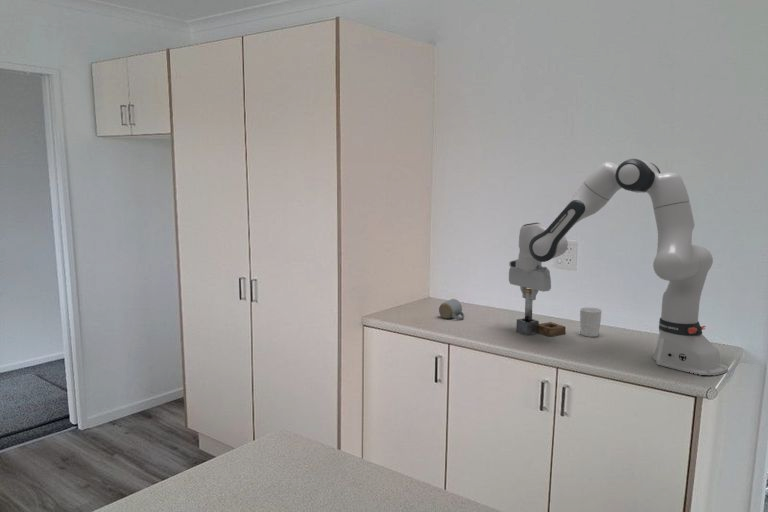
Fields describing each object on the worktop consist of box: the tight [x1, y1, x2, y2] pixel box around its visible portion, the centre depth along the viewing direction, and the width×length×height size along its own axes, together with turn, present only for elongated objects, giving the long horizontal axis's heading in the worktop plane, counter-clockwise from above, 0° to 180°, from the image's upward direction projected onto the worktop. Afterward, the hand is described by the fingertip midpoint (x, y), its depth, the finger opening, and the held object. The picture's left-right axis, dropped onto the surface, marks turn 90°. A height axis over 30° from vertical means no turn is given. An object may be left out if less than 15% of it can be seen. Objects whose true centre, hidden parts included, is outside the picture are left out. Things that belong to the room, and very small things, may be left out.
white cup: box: [579, 306, 603, 338], centre depth 230 cm, size 8×8×10 cm
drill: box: [524, 288, 534, 320], centre depth 231 cm, size 3×3×12 cm
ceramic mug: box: [438, 298, 465, 321], centre depth 255 cm, size 11×8×8 cm
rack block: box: [537, 321, 567, 338], centre depth 232 cm, size 8×8×3 cm
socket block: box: [515, 317, 540, 336], centre depth 233 cm, size 6×6×5 cm
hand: (528, 298), depth 231 cm, fingers closed on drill, 3 cm apart
